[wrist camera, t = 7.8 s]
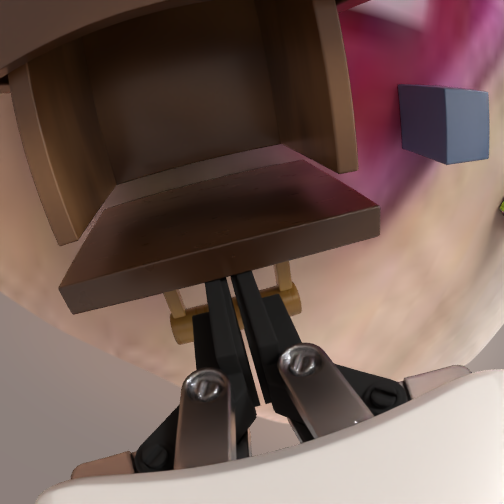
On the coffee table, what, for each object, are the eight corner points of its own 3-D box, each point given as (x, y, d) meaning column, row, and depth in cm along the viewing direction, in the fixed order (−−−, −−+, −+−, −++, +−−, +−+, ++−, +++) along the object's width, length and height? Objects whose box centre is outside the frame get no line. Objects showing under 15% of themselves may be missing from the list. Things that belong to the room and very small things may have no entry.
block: (442, 85, 17) (488, 92, 13) (445, 143, 19) (489, 159, 15) (397, 84, 16) (444, 87, 12) (401, 148, 19) (446, 165, 15)
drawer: (313, 251, 20) (373, 330, 13) (139, 296, 19) (126, 395, 12) (266, -42, 11) (321, -113, 4) (57, 7, 10) (-17, -35, 3)
